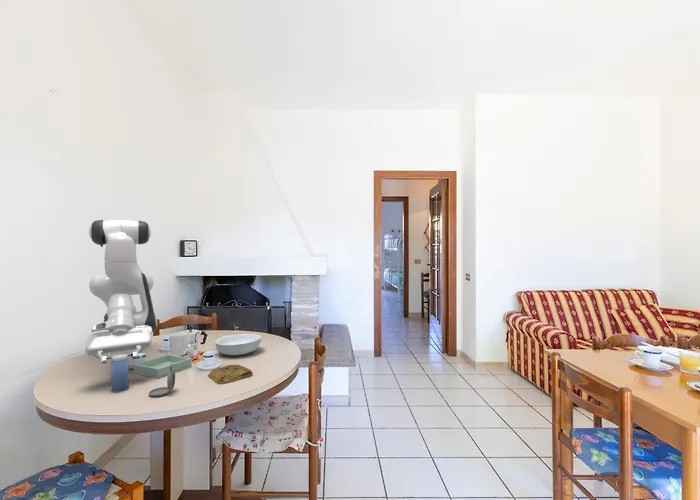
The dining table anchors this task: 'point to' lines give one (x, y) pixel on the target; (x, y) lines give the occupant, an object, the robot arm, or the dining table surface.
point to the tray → (162, 366)
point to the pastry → (229, 374)
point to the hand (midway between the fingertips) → (119, 360)
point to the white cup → (178, 343)
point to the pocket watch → (167, 389)
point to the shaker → (119, 372)
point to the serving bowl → (238, 344)
